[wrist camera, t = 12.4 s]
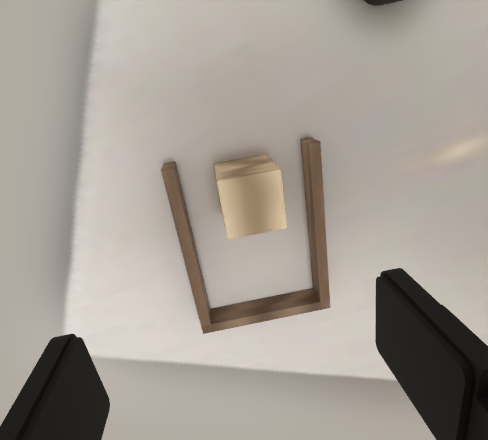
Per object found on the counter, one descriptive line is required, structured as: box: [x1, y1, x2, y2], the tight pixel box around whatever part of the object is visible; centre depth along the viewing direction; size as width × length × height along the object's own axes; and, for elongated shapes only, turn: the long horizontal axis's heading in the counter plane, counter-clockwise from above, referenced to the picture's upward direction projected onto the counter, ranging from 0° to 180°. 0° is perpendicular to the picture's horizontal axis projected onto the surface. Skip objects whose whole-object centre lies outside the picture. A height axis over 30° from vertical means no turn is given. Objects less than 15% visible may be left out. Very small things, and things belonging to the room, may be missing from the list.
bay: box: [161, 137, 330, 334], centre depth 39 cm, size 16×21×3 cm
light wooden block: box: [214, 155, 287, 239], centre depth 35 cm, size 6×6×7 cm
